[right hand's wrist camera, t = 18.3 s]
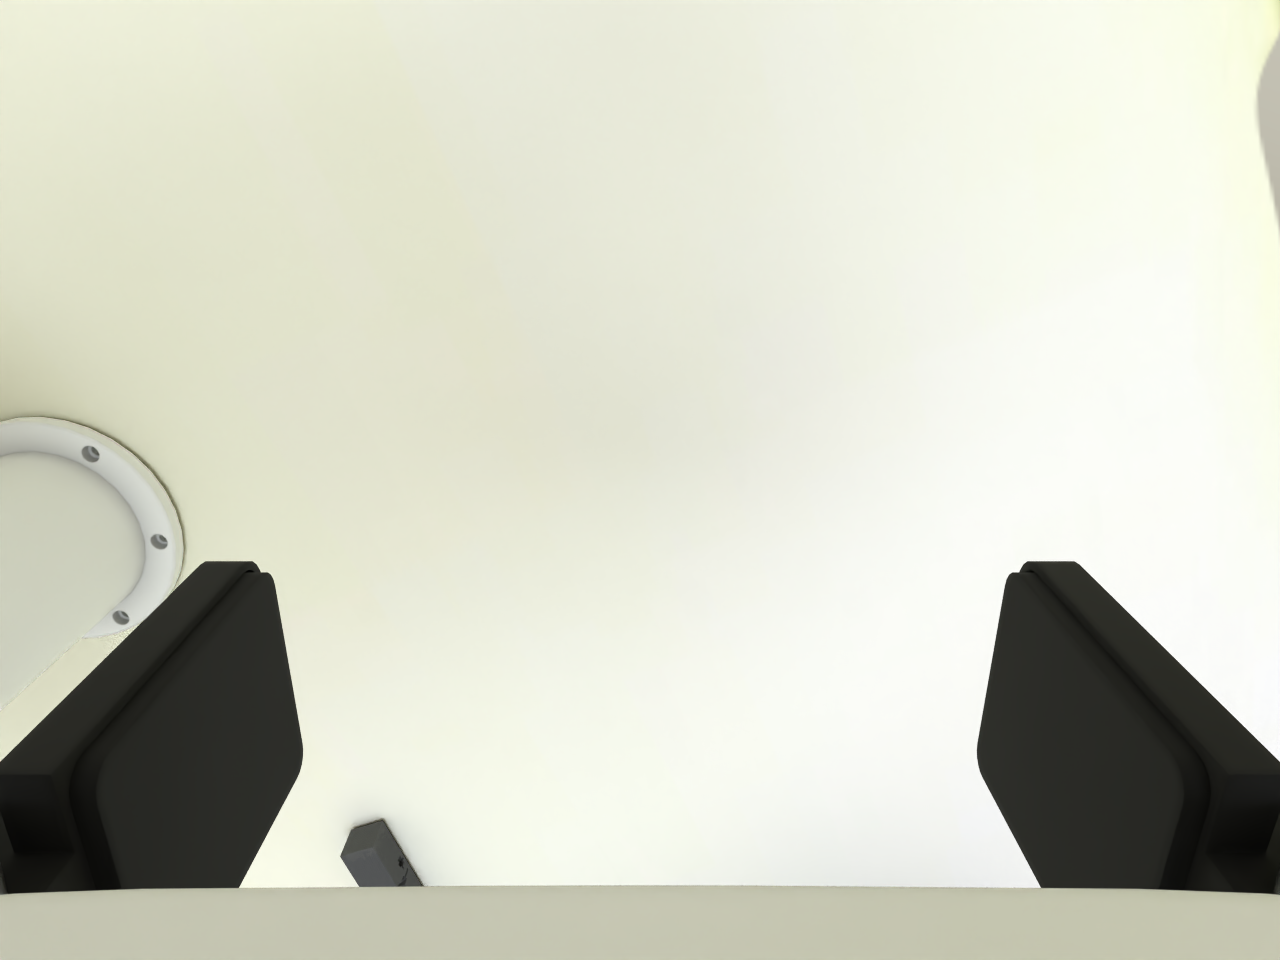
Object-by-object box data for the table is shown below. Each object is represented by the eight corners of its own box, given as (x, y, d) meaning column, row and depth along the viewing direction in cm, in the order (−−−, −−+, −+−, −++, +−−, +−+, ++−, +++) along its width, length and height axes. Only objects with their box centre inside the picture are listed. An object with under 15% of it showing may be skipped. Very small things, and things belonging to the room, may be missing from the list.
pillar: (372, 846, 52) (504, 1062, 59) (382, 820, 54) (509, 1031, 61) (340, 856, 53) (475, 1069, 60) (351, 829, 55) (480, 1038, 62)
